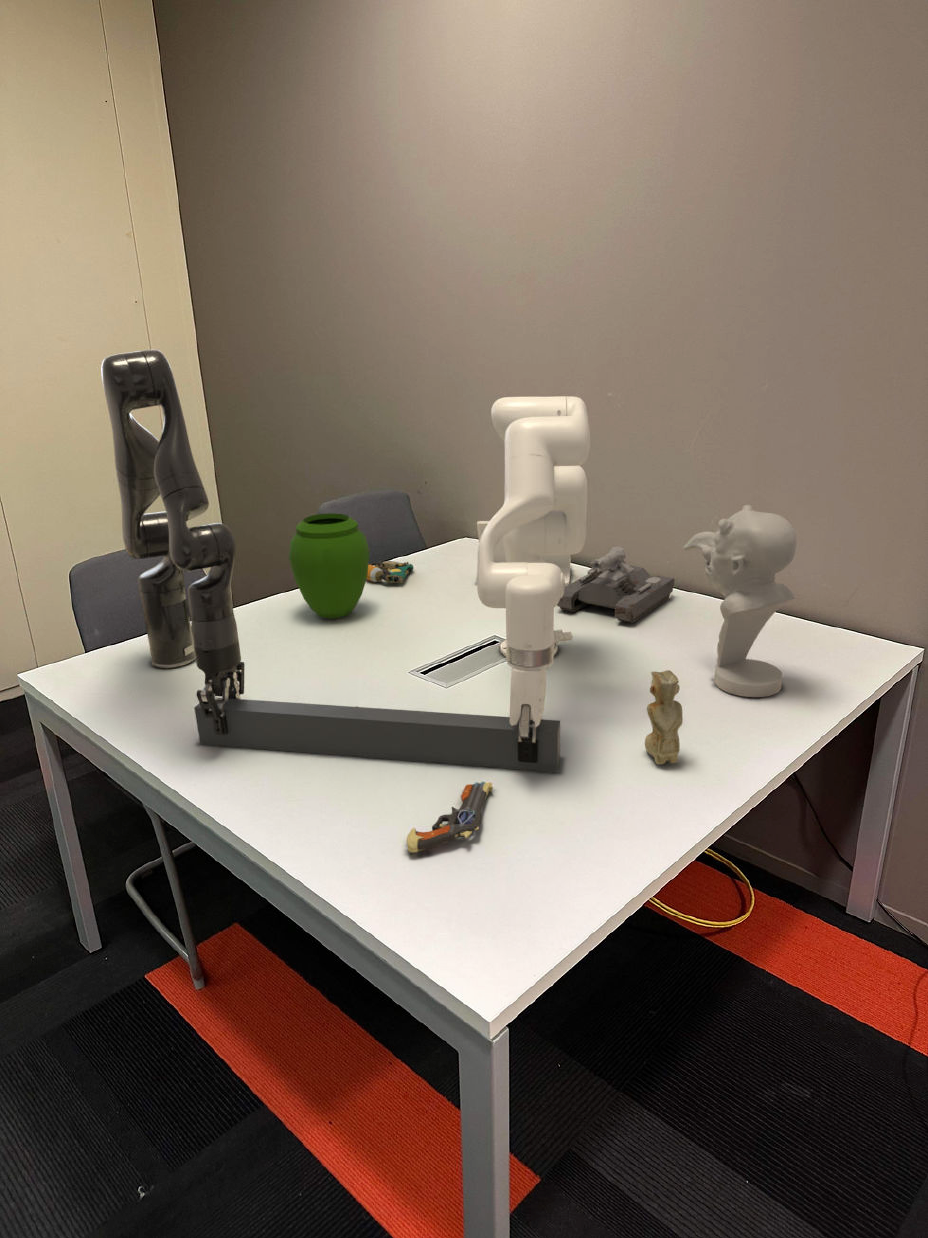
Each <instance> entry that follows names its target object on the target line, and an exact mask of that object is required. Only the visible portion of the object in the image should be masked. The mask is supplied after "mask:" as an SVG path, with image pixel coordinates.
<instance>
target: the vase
mask: <svg viewBox="0 0 928 1238" xmlns="http://www.w3.org/2000/svg"><path fill="white" fill-rule="evenodd" d="M358 524H359V523H358V521H356V520H355V519H353V518H352V517H350V516H349V515H347V514H344V513H335V512H334V513H333V512H331V513H320V514H313V515H310V516H307V517H305V518H303V519H302V520H301V521H300V522H299V523H298V524H297V525H296V526H295V532H296V533H295V534H294V536H293V537H292V538H291V540H290V542H289V551H288V559H289V564H290V566H291V567H290V568H291V570H292V575H293V578H294V581H295V584H296V586H297V587H298V589H299V591H300V593H301V596H302V597H303V600H304V601H305V603H306V604H307V605H308V607H309V608H310V609H311V611H312V612H314V613H315V614H316V615H317V616H318V617H320V618H324V619H326V620H327V619H329V620H336V619H341V618H345V617H347V616H349V615H350V614H351V613H352V612H353V611H354V610H355V608H356V607H357V605H358V604H359V601H360V599H361V597H362V595H363V592H364V588H365V586H366V581H367V579H366V578H367V573H368V565H369V561H370V560H369V559H370V548H369V545H368V541H367V537H366V535H365V534H364V533H363V532H362V531H361V530H360V529H359V527H358Z"/></svg>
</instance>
